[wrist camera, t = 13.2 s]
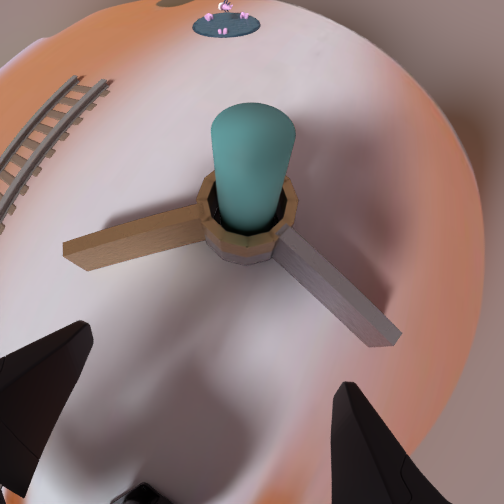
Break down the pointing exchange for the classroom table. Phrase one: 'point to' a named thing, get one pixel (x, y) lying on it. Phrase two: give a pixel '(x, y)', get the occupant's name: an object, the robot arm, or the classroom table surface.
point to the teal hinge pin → (250, 165)
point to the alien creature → (226, 23)
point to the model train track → (44, 149)
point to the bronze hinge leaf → (176, 232)
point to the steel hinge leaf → (322, 284)
